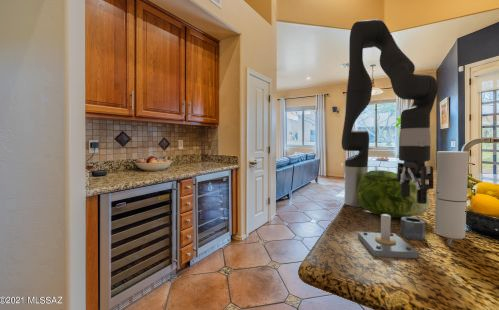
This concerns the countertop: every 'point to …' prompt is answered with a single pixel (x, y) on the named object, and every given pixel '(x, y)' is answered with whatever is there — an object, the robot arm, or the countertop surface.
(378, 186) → the lettuce
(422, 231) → the collar
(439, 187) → the cylindrical container
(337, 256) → the countertop surface
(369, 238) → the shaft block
